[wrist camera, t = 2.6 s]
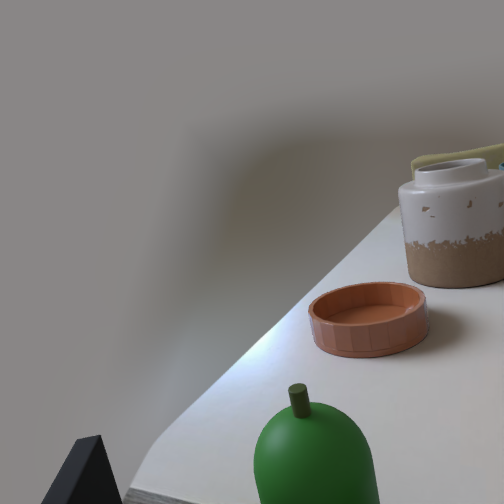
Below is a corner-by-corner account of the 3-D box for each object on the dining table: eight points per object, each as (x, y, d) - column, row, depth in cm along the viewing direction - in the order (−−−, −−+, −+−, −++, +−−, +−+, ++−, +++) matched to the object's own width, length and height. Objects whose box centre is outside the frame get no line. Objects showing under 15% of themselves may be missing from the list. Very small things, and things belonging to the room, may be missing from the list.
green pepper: (274, 633, 26) (224, 430, 23) (287, 533, 32) (249, 363, 29) (399, 637, 24) (362, 420, 21) (386, 531, 30) (357, 352, 27)
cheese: (531, 206, 102) (526, 137, 99) (529, 217, 95) (524, 142, 91) (426, 215, 115) (419, 154, 111) (417, 225, 107) (408, 160, 104)
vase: (517, 254, 75) (509, 150, 72) (515, 288, 63) (505, 163, 59) (418, 258, 83) (407, 165, 80) (399, 289, 71) (384, 180, 67)
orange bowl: (310, 363, 54) (304, 332, 53) (316, 315, 68) (311, 289, 67) (439, 351, 51) (435, 317, 50) (418, 303, 65) (415, 275, 64)
